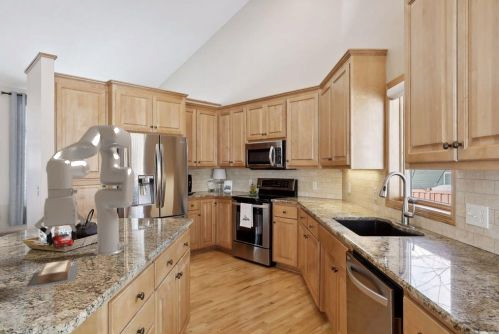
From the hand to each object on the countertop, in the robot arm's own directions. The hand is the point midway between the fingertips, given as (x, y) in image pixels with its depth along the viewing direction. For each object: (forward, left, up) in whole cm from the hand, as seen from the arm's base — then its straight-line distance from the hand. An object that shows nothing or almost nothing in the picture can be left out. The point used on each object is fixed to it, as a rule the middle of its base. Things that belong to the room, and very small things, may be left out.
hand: (61, 243), depth 103 cm
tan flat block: (+3, -9, -14) cm, 17 cm away
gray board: (+3, -9, -15) cm, 18 cm away
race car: (0, 0, -1) cm, 1 cm away
